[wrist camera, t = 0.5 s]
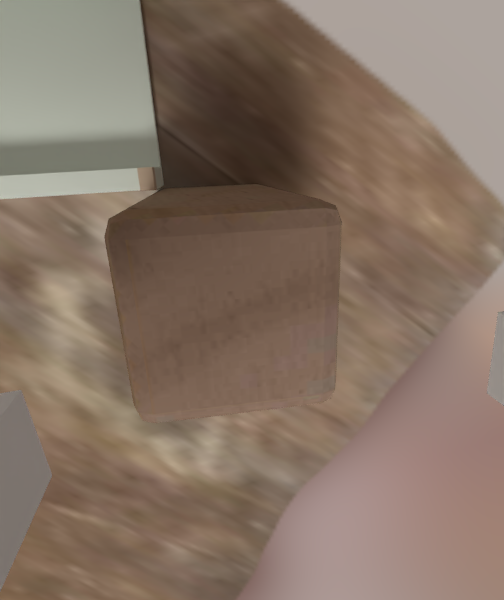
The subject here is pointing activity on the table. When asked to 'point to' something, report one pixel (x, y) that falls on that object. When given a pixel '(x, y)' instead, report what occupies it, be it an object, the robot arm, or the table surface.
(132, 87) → the pale green tray
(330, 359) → the wooden block
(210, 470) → the table surface
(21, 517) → the robot arm
